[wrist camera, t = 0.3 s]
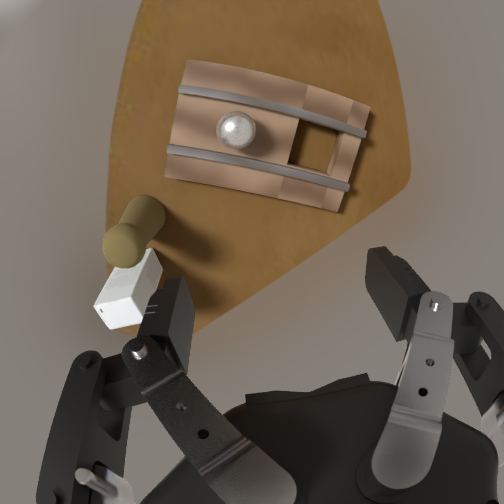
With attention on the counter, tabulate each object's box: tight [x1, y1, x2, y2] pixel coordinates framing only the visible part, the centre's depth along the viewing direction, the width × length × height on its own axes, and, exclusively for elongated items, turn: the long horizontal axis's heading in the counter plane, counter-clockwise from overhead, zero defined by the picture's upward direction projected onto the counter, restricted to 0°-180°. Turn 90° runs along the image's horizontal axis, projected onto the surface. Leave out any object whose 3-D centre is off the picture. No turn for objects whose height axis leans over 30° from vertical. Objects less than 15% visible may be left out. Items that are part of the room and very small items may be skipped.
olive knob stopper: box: [102, 195, 166, 269], centre depth 34 cm, size 6×6×11 cm
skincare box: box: [94, 248, 163, 330], centre depth 37 cm, size 6×4×12 cm
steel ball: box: [216, 111, 256, 149], centre depth 30 cm, size 4×4×4 cm
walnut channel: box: [164, 59, 370, 212], centre depth 33 cm, size 15×23×3 cm, turn 77°
